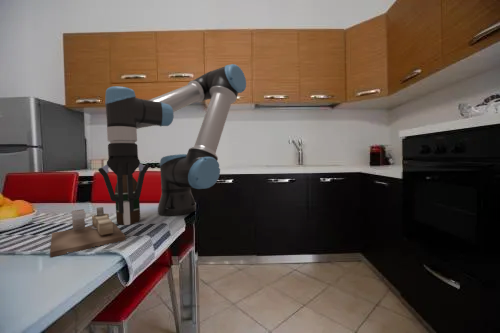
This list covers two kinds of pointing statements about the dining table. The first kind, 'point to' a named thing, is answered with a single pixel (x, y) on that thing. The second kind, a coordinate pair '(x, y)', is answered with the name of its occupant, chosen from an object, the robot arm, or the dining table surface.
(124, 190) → the beer bottle
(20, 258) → the dining table surface
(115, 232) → the base plate
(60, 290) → the dining table surface
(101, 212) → the link
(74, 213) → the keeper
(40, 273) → the dining table surface
